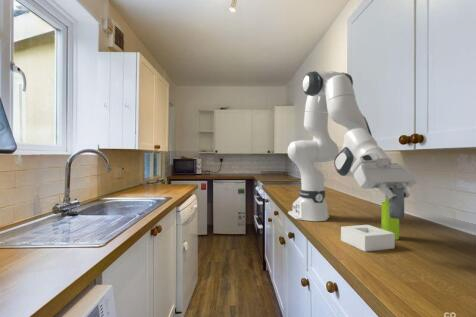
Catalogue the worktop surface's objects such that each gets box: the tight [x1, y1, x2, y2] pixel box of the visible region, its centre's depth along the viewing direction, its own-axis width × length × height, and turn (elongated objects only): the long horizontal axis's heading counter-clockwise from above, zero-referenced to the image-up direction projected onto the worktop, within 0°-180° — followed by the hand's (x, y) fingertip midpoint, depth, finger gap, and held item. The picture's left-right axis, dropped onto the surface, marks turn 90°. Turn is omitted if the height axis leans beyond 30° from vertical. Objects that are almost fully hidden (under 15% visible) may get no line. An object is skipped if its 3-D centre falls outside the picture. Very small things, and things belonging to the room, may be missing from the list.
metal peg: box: [389, 187, 405, 220], centre depth 82 cm, size 4×4×9 cm
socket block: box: [340, 224, 396, 252], centre depth 94 cm, size 12×12×5 cm
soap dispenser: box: [380, 188, 400, 241], centre depth 102 cm, size 6×7×20 cm
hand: (400, 197), depth 81 cm, fingers closed on metal peg, 4 cm apart
